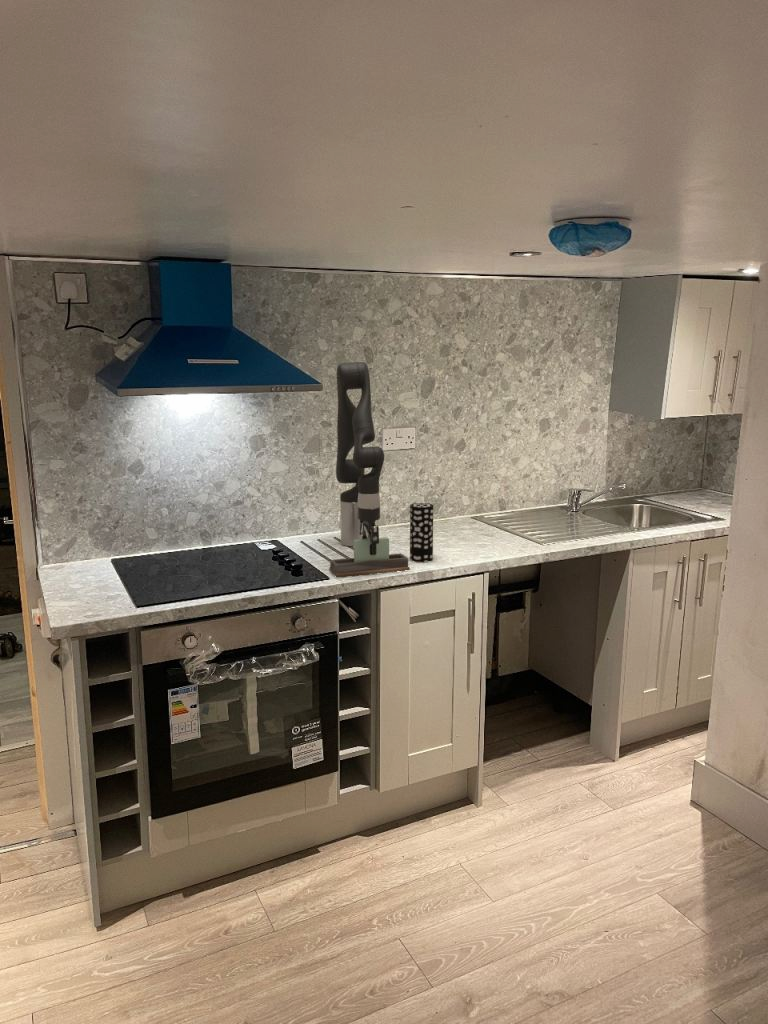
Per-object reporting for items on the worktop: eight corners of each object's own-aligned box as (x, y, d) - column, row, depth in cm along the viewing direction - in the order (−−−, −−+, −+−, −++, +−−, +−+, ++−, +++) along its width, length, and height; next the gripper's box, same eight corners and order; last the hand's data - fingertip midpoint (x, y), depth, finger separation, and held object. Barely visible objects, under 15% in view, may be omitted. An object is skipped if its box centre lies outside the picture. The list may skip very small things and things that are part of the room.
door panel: (353, 568, 268) (353, 539, 266) (386, 564, 272) (386, 537, 270) (355, 569, 266) (355, 541, 264) (389, 566, 270) (389, 538, 268)
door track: (329, 569, 269) (328, 558, 269) (399, 563, 278) (399, 552, 277) (336, 578, 260) (336, 566, 259) (409, 570, 268) (409, 559, 268)
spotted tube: (406, 557, 285) (406, 504, 280) (427, 555, 288) (427, 502, 283) (415, 563, 277) (415, 508, 273) (436, 561, 280) (437, 506, 276)
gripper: (352, 502, 270) (352, 547, 273) (364, 510, 256) (365, 558, 260) (372, 500, 272) (373, 545, 275) (386, 508, 259) (386, 556, 262)
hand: (369, 551), depth 268 cm, fingers open, 8 cm apart
